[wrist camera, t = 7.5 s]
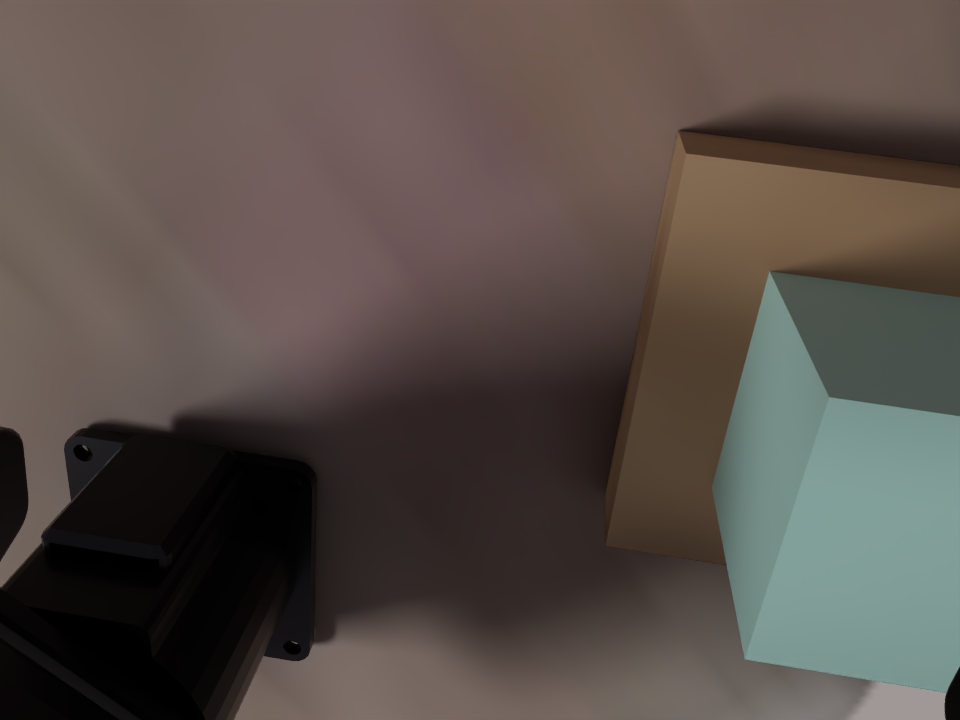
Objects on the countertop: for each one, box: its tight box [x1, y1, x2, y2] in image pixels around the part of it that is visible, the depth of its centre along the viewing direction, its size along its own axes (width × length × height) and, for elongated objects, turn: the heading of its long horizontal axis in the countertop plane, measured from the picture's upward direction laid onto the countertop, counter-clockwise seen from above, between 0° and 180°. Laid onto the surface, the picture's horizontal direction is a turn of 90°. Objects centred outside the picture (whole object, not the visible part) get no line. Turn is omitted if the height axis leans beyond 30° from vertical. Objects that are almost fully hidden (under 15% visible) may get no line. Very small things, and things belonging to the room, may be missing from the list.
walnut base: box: [605, 130, 960, 565], centre depth 19 cm, size 9×9×2 cm
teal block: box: [712, 271, 960, 693], centre depth 16 cm, size 5×5×5 cm
